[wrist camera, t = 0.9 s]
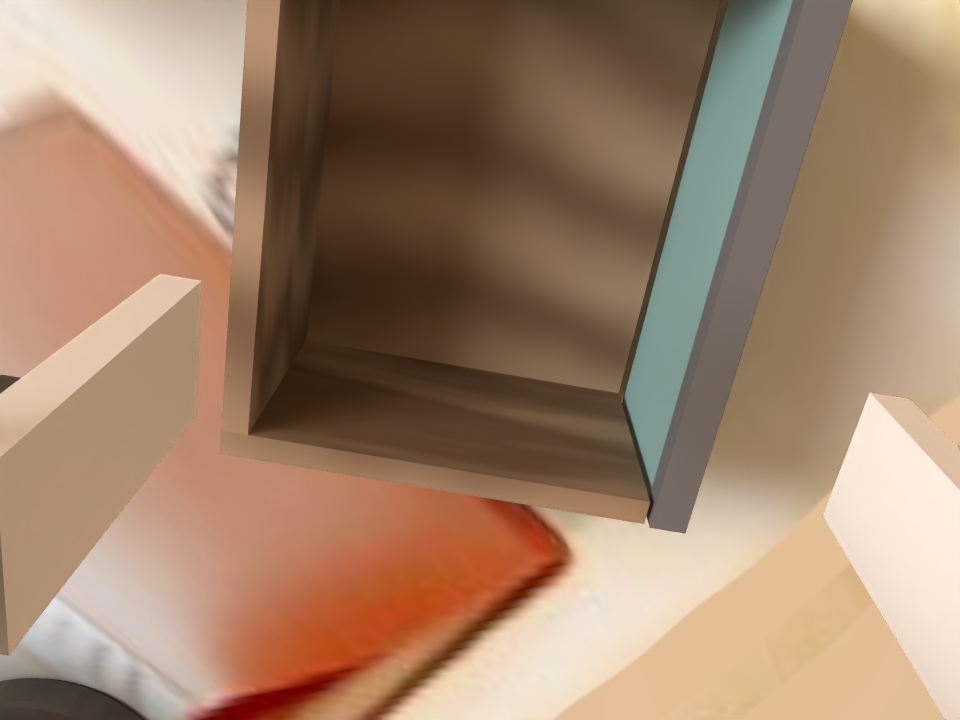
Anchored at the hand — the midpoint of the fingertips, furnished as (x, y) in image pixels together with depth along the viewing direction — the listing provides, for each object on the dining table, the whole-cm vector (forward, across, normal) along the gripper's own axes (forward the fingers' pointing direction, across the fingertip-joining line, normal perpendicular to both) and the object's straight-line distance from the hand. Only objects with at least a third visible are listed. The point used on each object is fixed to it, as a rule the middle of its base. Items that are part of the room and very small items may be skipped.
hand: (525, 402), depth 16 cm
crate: (+25, +1, 0) cm, 25 cm away
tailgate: (+24, -8, 0) cm, 25 cm away
